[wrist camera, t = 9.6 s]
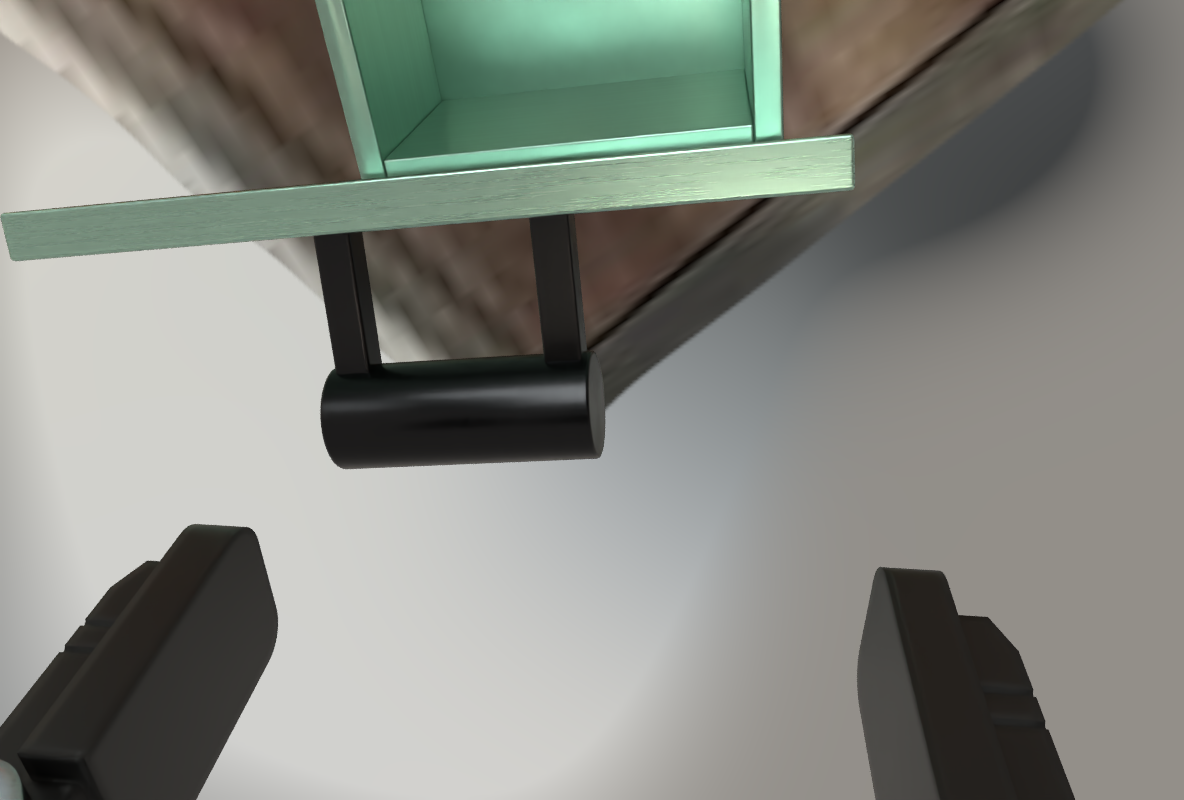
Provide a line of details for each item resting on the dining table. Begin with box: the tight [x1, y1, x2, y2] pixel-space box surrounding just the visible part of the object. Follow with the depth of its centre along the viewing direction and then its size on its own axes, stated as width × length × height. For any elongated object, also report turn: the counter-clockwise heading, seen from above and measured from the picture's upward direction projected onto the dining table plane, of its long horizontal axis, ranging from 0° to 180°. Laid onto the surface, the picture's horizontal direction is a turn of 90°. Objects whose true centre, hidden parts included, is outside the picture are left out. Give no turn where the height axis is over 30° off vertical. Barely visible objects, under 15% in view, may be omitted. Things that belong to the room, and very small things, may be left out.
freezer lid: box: [0, 133, 855, 469], centre depth 22 cm, size 16×14×5 cm
